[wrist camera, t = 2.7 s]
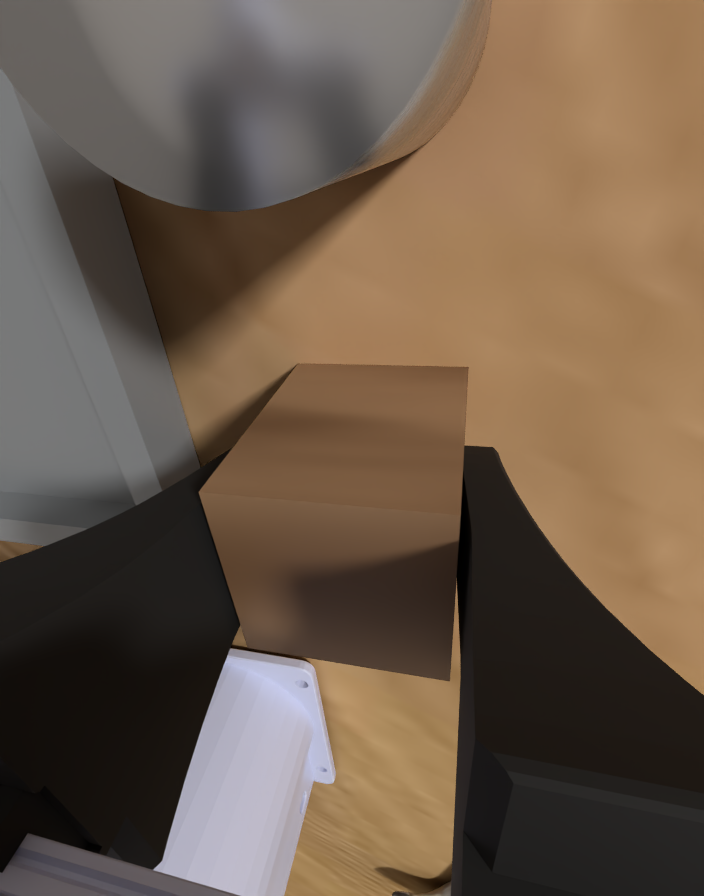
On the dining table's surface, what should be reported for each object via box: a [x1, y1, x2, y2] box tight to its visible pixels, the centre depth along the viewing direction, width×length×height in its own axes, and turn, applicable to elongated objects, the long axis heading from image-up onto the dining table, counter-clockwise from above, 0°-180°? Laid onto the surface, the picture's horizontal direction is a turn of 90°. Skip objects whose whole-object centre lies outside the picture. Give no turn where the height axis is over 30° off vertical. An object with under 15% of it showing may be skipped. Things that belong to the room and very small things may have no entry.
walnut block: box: [199, 364, 468, 681], centre depth 10 cm, size 4×4×5 cm
